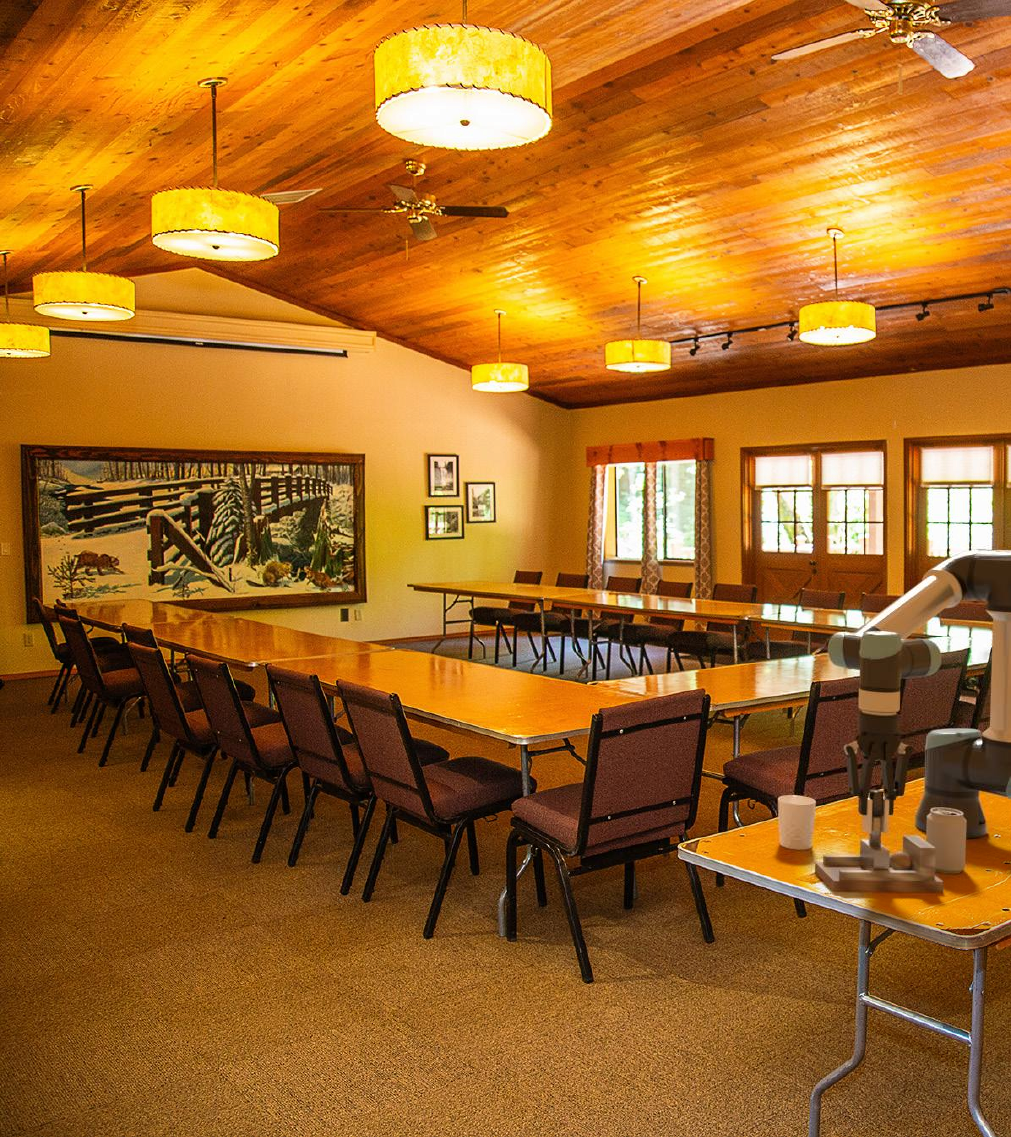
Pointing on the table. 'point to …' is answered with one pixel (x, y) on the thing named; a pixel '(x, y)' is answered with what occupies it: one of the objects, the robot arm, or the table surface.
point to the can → (947, 839)
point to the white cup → (796, 821)
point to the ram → (875, 838)
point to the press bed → (883, 871)
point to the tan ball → (900, 861)
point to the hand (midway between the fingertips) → (875, 831)
